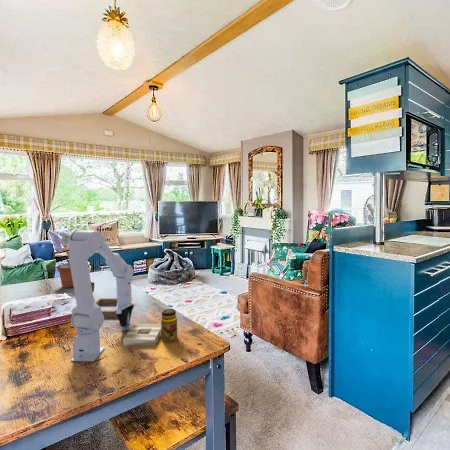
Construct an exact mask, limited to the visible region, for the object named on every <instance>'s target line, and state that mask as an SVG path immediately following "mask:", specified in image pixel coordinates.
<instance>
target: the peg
mask: <svg viewBox="0 0 450 450" xmlns="http://www.w3.org/2000/svg"><path fill="white" fill-rule="evenodd" d="M130 322H131V319H130V320H129V313H128V317H127V325H126V327H121V331H122V332H127V331H128V332H129V331H130V325H131V323H130Z"/></svg>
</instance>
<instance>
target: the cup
mask: <svg viewBox="0 0 450 450" xmlns="http://www.w3.org/2000/svg"><path fill="white" fill-rule="evenodd" d="M95 285H96V284H95V282H93V281H91V286H92V292H93V293H94V292H95Z"/></svg>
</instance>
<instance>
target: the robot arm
mask: <svg viewBox="0 0 450 450" xmlns="http://www.w3.org/2000/svg"><path fill="white" fill-rule="evenodd" d="M68 236H69V238H68V243H67V244H68V252H69V256H68V260H69V262H68V263H70V268H71V274H72V280H73V285H74V287H73V290H74V296H75V297H74V298H75V301H76V305H75V306H74V307H73V308H72V309H71V319H70V323H71V326H72V327H73V328H75V329H74V330H75V332H76V336H75V338H74V340H72V356H73V357H72V358H71V359H70V361H71V362H95V360H97V358H98V357H99V355H101V353H102V352H103V351H104V350H105V348H106V347H105V346H101V341H100V339H101V337H100V330H101V329H102V327H103V326H104V322H105V318H104V315H103V313H102V312H101V311H102V309H101V306H98V305H97V304H96V303H95V299H94V292H92V286H91V282H92V281H91V275H90V269H89V268H90V267H89V262H88V260H89V258H90V257H92V256H93V255H94V254H95V253H98V255H99V254H100V255H101V257H102V258H104V262H105V264H106V265H107V267H108V268H109V269H110V270H111V271H112V276H113V277H115V278H116V281H115V282H116V298H117V305H116V308H115V309H114V311H115V314H116V315H117V317H118V318H117V319H118V321H119V326H120V327H121V328H122V327H126V325H127V317H128V313H129V320H130V321H131V318H132V313H133V310H134V308H135V303H136V302H135V301H133V297H132V281H133V276H134V273H135V271H134V270H135V269H134V268H133V266H132V265H131V264H127V263H126V261H125V260H124V259H123V257H121V255H120V253H118V252H113V251H112V249H111V248H110V247H109V246H108V244H107V243H106V239H105V236H104V235H103V233H102V232H101V231H99V230H79V229H77V230H76V229H75V230H73V231H72V232H71V233H70V234H69V235H68Z"/></svg>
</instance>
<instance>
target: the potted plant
mask: <svg viewBox="0 0 450 450" xmlns="http://www.w3.org/2000/svg"><path fill="white" fill-rule="evenodd" d="M69 236H70V235H65V236H62V237H61V241H62V242H63V243H66V244H64V246H65V247H66V250H67V251H66V252H65V254H66V255H67V256H68V257H69V248H68V247H69V244H68V238H69ZM67 244H68V245H67ZM57 272H59V277H60V278H59V279H60V282H61V286H62V287H61V288H63V289H66V288H67V289H69V288H74V285H73V280H72V274H71V268H70V262H66V263H63V264H59V265H57Z"/></svg>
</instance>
